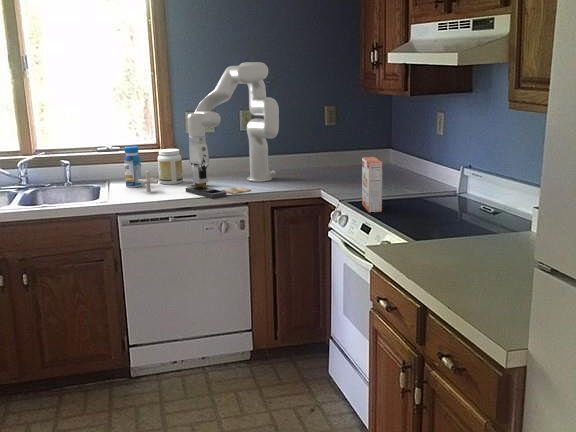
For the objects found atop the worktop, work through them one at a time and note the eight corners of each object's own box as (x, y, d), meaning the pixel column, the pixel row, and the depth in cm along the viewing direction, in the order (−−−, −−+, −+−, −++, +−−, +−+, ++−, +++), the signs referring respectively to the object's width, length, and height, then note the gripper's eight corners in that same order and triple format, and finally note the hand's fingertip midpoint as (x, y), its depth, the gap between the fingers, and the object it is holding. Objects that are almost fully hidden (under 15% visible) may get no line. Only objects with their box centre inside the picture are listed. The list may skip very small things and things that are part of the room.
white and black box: (201, 180, 315) (200, 164, 313) (207, 182, 311) (206, 165, 309) (192, 182, 311) (191, 165, 309) (198, 183, 308) (197, 167, 306)
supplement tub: (179, 179, 346) (177, 147, 342) (186, 183, 335) (184, 150, 331) (156, 181, 341) (154, 149, 337) (162, 185, 330) (160, 152, 326)
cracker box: (361, 205, 279) (361, 156, 274) (375, 204, 280) (375, 156, 275) (367, 213, 266) (368, 162, 261) (382, 212, 266) (383, 161, 261)
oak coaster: (237, 188, 320) (237, 186, 320) (250, 190, 313) (250, 189, 313) (221, 191, 314) (221, 189, 314) (233, 194, 307) (233, 192, 307)
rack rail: (199, 189, 319) (199, 185, 318) (226, 196, 303) (226, 191, 302) (185, 191, 314) (185, 187, 313) (212, 198, 298) (212, 194, 297)
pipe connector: (163, 190, 319) (161, 169, 317) (152, 194, 310) (151, 173, 308) (145, 189, 322) (143, 169, 320) (134, 193, 313) (132, 172, 311)
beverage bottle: (143, 186, 328) (140, 147, 323) (126, 188, 326) (123, 148, 321) (141, 183, 336) (139, 145, 331) (125, 185, 333) (121, 146, 329)
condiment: (209, 186, 327) (208, 162, 324) (194, 188, 323) (193, 164, 320) (203, 183, 333) (202, 160, 330) (188, 185, 329) (186, 162, 326)
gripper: (214, 140, 302) (216, 178, 307) (193, 137, 315) (196, 174, 319) (200, 142, 297) (203, 181, 302) (180, 139, 310) (183, 176, 315)
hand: (199, 177), depth 311 cm, fingers closed on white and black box, 5 cm apart
